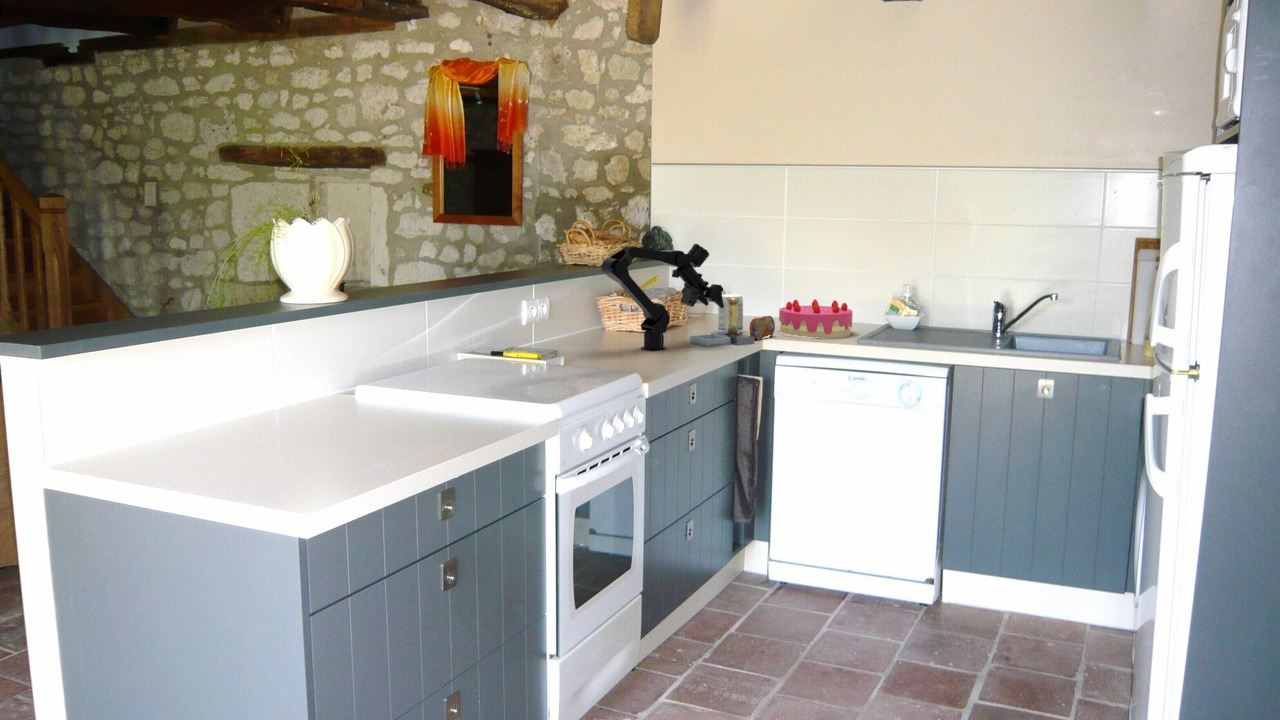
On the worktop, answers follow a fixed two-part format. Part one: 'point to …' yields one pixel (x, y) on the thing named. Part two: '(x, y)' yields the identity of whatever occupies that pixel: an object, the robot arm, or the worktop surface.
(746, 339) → the hitch plate
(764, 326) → the tin
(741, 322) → the supplement tub
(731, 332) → the pin
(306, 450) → the worktop surface
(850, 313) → the cake
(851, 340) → the worktop surface
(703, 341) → the tray
